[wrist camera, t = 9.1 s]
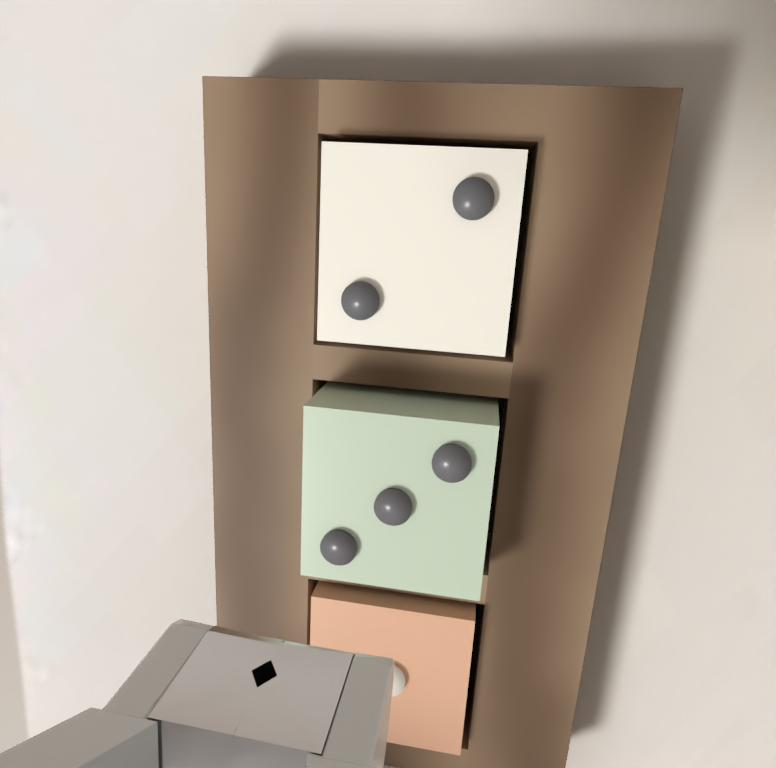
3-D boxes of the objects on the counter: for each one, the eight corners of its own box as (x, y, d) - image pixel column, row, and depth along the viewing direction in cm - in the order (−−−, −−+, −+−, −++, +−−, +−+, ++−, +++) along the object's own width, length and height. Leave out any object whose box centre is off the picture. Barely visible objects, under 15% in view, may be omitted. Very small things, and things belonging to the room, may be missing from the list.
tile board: (658, 105, 19) (683, 88, 16) (553, 744, 25) (559, 797, 23) (235, 92, 21) (202, 76, 18) (243, 689, 27) (219, 733, 25)
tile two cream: (522, 160, 20) (528, 148, 17) (502, 338, 21) (505, 358, 18) (344, 152, 20) (319, 140, 17) (339, 325, 22) (315, 341, 19)
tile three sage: (498, 397, 20) (499, 428, 17) (480, 552, 22) (479, 605, 19) (328, 381, 21) (301, 407, 18) (324, 530, 23) (298, 578, 20)
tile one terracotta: (476, 573, 24) (475, 625, 21) (463, 695, 25) (460, 760, 22) (331, 552, 25) (309, 599, 22) (327, 672, 26) (306, 732, 23)
